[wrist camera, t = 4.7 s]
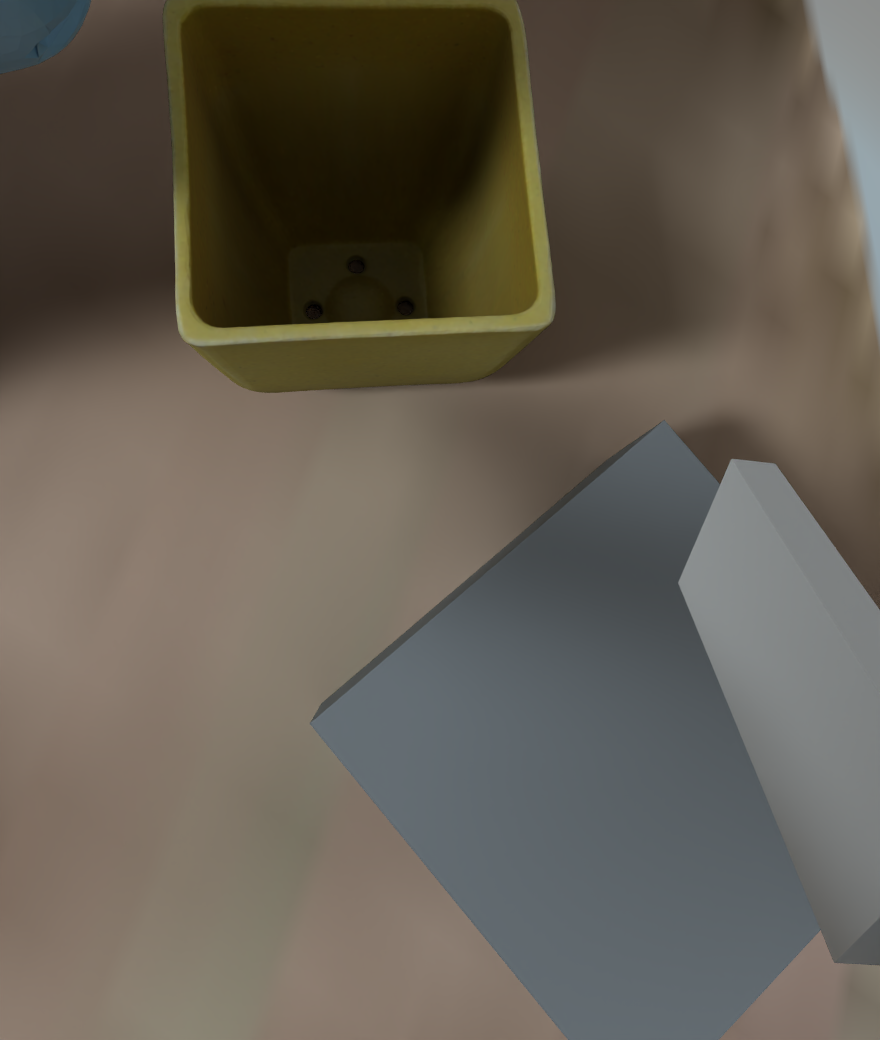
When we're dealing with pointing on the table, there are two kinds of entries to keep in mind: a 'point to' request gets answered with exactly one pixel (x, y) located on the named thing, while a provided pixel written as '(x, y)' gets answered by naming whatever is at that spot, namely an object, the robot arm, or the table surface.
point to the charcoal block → (586, 766)
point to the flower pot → (355, 190)
